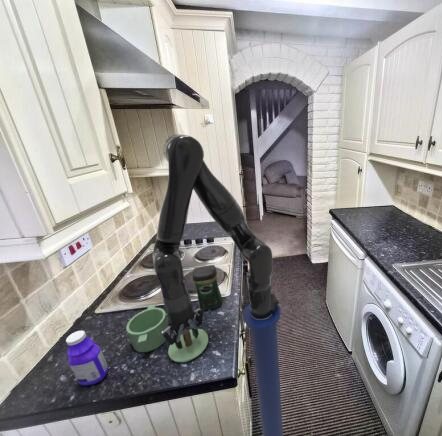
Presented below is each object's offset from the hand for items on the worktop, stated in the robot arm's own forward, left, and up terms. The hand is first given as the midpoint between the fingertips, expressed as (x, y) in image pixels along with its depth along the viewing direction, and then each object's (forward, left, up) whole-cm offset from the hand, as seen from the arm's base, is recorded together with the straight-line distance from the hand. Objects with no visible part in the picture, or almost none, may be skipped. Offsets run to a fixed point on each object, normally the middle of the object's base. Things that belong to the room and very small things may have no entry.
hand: (188, 341), depth 80 cm
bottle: (+27, +1, -2) cm, 27 cm away
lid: (0, 0, -1) cm, 1 cm away
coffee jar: (-8, -19, -2) cm, 21 cm away
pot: (+13, -9, -2) cm, 16 cm away
